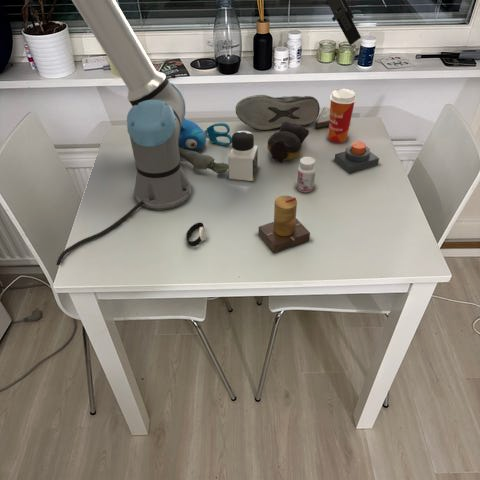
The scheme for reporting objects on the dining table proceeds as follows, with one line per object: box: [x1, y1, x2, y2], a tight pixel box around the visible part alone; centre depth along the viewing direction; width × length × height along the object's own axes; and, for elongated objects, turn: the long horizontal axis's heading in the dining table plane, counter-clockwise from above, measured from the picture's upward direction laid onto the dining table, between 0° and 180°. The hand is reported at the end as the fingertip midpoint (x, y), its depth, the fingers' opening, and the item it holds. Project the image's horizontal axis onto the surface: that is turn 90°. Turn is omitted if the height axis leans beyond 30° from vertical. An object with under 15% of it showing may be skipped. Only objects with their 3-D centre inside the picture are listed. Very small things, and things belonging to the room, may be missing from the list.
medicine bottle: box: [227, 130, 259, 182], centre depth 132 cm, size 7×7×12 cm
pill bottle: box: [296, 156, 317, 193], centre depth 128 cm, size 5×5×8 cm
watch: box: [185, 222, 207, 247], centre depth 116 cm, size 8×5×4 cm, turn 170°
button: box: [351, 141, 367, 155], centre depth 136 cm, size 4×4×2 cm
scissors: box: [203, 122, 232, 147], centre depth 148 cm, size 7×1×20 cm
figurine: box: [266, 122, 309, 163], centre depth 141 cm, size 10×7×15 cm
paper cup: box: [328, 88, 357, 144], centre depth 143 cm, size 8×8×14 cm
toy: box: [178, 117, 207, 150], centre depth 143 cm, size 12×18×10 cm
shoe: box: [235, 94, 321, 131], centre depth 154 cm, size 10×27×12 cm
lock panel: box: [258, 217, 311, 254], centre depth 116 cm, size 10×9×3 cm
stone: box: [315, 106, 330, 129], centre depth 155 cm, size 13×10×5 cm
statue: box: [178, 146, 229, 175], centre depth 138 cm, size 7×8×30 cm
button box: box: [333, 144, 380, 175], centre depth 138 cm, size 10×8×4 cm
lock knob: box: [273, 194, 298, 236], centre depth 112 cm, size 5×5×8 cm
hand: (351, 30), depth 110 cm, fingers open, 13 cm apart
